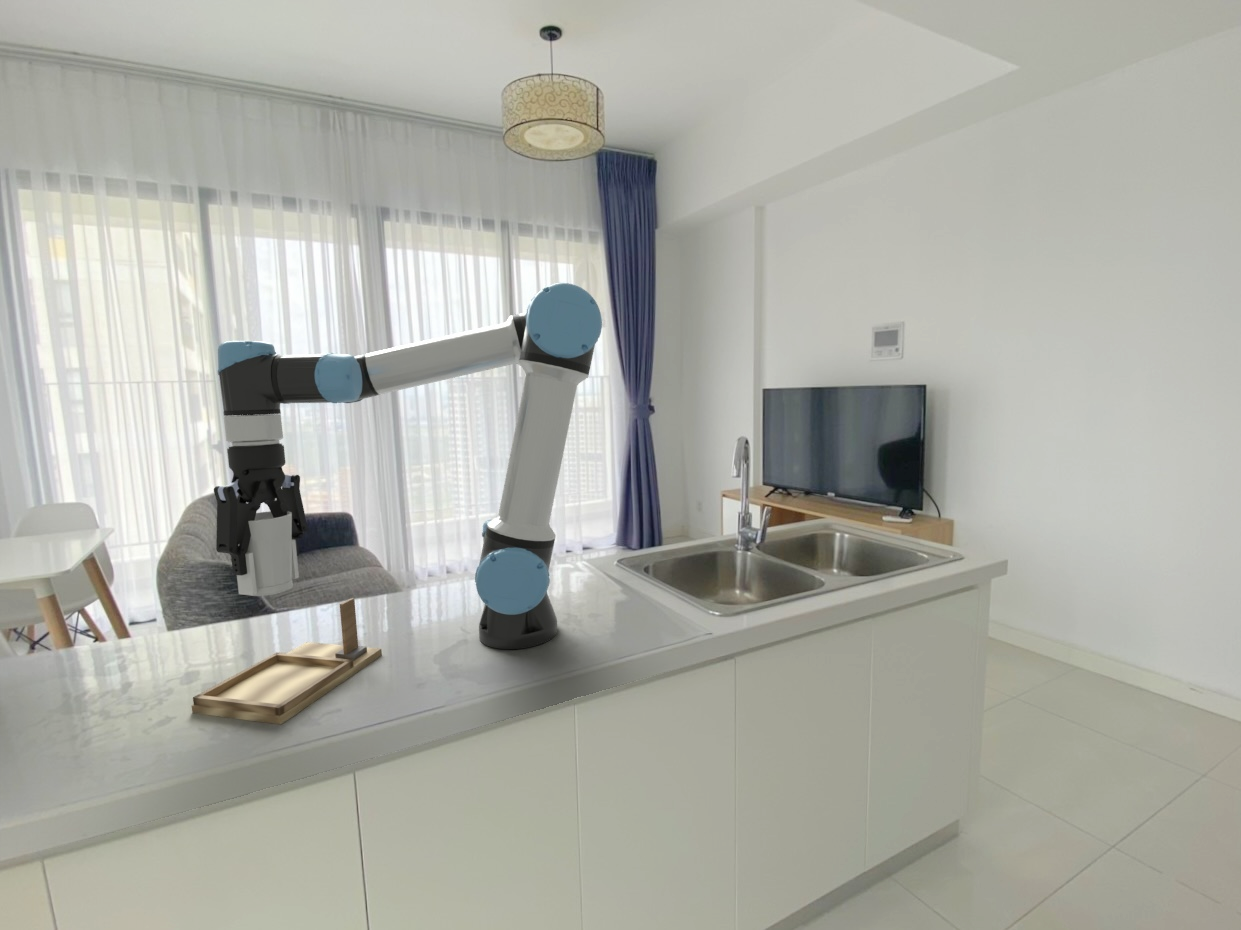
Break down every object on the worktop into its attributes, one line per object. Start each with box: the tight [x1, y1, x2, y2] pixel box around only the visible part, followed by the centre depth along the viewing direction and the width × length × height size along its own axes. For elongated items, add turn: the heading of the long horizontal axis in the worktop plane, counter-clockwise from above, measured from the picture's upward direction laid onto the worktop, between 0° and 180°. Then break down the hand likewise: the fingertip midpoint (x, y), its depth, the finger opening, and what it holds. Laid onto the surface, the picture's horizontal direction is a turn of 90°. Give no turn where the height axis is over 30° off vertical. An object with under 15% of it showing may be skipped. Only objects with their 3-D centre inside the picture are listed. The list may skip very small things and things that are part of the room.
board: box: [191, 597, 383, 725], centre depth 96 cm, size 16×23×11 cm
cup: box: [238, 510, 294, 597], centre depth 92 cm, size 8×8×12 cm
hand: (270, 585), depth 93 cm, fingers closed on cup, 7 cm apart
